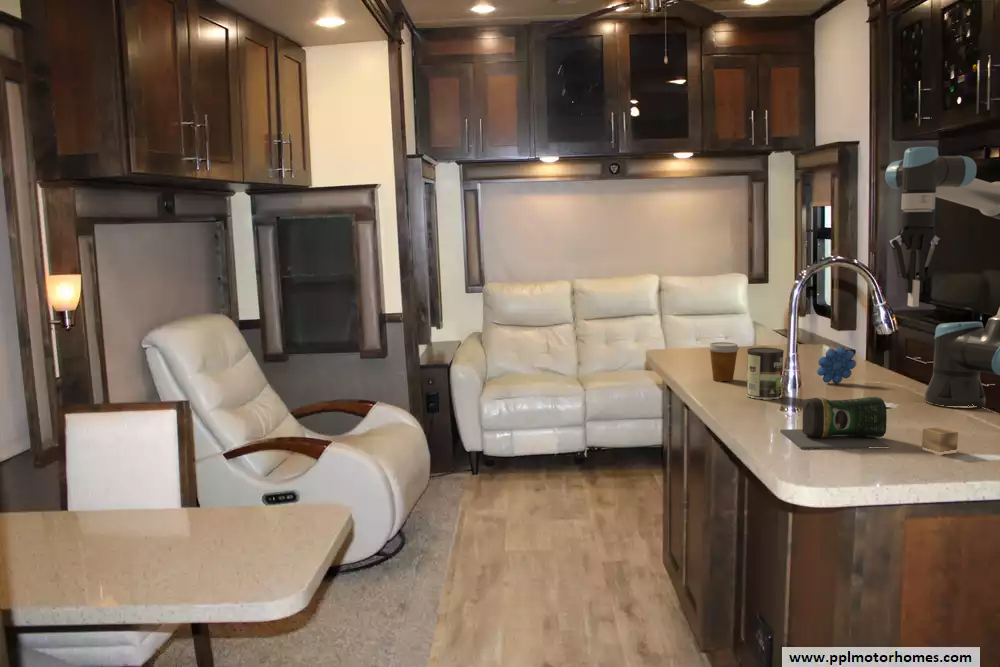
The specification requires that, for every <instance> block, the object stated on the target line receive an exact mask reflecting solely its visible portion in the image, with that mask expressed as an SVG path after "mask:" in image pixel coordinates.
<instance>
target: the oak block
mask: <svg viewBox="0 0 1000 667" xmlns="http://www.w3.org/2000/svg"><path fill="white" fill-rule="evenodd" d="M958 440H959V431H956V430H952V429H949V428H945V427H943V426H939V427H938V426H937V427H929V428H927V427H926V428H922V441H921V448H922V447H924V448H927V449H931V450H934V451H937V452H944V451H950V450H956V449H957V450H958V442H959V441H958Z"/></svg>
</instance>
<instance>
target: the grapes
mask: <svg viewBox="0 0 1000 667" xmlns="http://www.w3.org/2000/svg"><path fill="white" fill-rule="evenodd" d="M854 356H855V353H854V351H852V350H847V349H846V347H845V346H839V347H837V348H836V350H835V349H834V348H830V349H828V350H826V352H825V356H822V357H820V358H819V359H818V360H817V361H818V362H817V363H818V365H819V366H820V367H818V368H817V370H816V374H817V375H818V376H822V381H823V382H824V383H830V382H832V383H833V384H835V383H838V384H840V383H841V382H842V380H843V379H848V378H850V377H851V375H852V370H853V369H854V368H856V367H857V360H855V359H854Z"/></svg>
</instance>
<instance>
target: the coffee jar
mask: <svg viewBox="0 0 1000 667" xmlns="http://www.w3.org/2000/svg"><path fill="white" fill-rule="evenodd" d="M887 417H888V416H887V405H886V403H885V401H884V400H883V399H882V398H881V397H877V396H872V397H871V396H868V397H858V398H851V399H850V398H849V399H837V400H836V399H835V400H834V399H833V400H832V399H827V398H824V397H818V396H817V397H812V398H806V399H803V400H802V432H803V433H804V434H805V435H807V436H811V437H819V438H825V437H828V436H831V435H850V436H862V437H876V438H877V439H879V438H883V437H884V436H885V435H886V433H887V419H888V418H887Z"/></svg>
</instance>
